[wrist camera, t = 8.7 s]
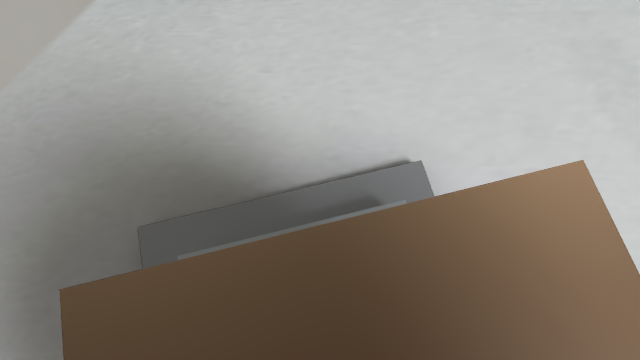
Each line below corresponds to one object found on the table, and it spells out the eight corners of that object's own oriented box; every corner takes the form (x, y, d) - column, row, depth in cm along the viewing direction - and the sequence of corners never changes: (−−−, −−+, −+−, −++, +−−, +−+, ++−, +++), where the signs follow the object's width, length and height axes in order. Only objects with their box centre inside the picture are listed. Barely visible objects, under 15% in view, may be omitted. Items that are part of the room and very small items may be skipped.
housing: (521, 468, 17) (576, 508, 13) (190, 581, 15) (158, 659, 12) (415, 167, 21) (437, 140, 17) (145, 231, 19) (112, 215, 16)
